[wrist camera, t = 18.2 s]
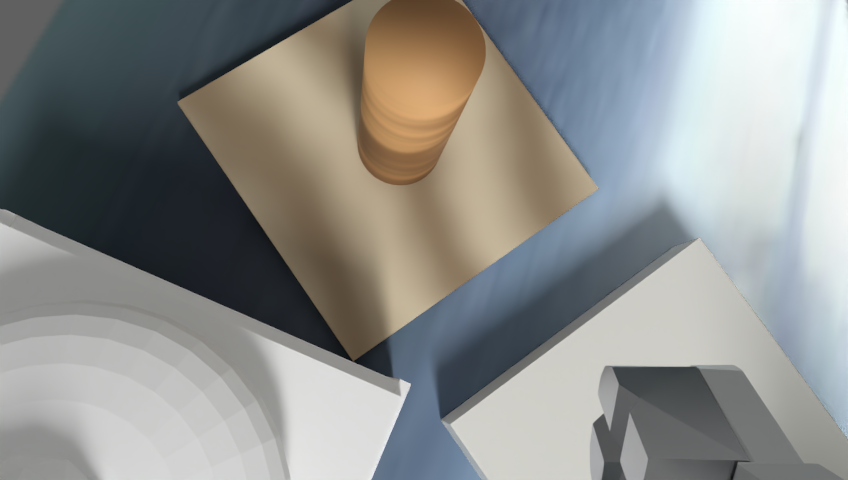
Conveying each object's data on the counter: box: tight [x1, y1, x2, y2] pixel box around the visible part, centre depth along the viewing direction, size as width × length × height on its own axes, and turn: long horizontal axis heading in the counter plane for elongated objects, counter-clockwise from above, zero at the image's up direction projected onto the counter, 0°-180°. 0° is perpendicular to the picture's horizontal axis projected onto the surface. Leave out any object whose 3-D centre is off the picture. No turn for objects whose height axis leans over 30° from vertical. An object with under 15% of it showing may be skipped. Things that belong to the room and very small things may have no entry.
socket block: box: [441, 238, 848, 480], centre depth 36 cm, size 16×16×3 cm
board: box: [177, 0, 599, 361], centre depth 38 cm, size 16×16×1 cm
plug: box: [358, 0, 486, 185], centre depth 32 cm, size 4×4×12 cm
